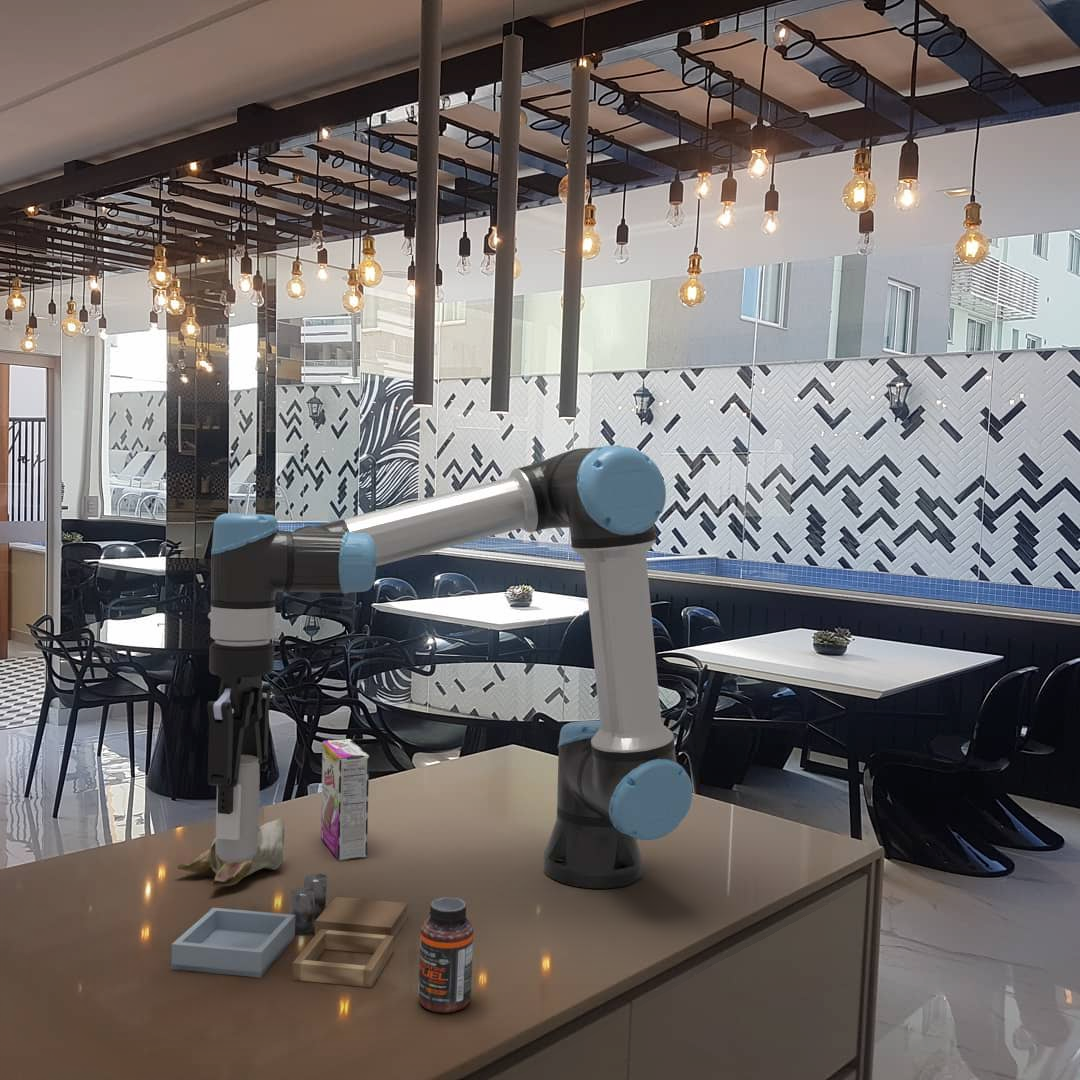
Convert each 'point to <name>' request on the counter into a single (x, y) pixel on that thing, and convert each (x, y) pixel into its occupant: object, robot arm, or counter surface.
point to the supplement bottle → (446, 957)
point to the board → (363, 916)
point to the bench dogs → (309, 902)
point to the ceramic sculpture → (233, 872)
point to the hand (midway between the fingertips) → (237, 830)
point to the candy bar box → (344, 799)
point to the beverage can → (244, 815)
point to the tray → (233, 942)
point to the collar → (338, 972)
